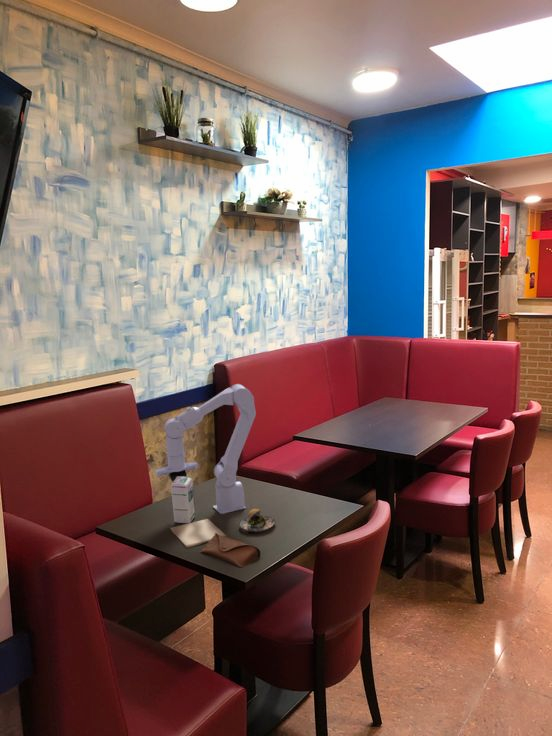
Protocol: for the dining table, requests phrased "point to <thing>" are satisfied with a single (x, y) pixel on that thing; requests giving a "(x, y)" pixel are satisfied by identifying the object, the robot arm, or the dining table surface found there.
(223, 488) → the robot arm
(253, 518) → the burger
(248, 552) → the sunglasses case
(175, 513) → the syrup box
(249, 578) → the dining table surface
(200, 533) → the beige folded napkin
